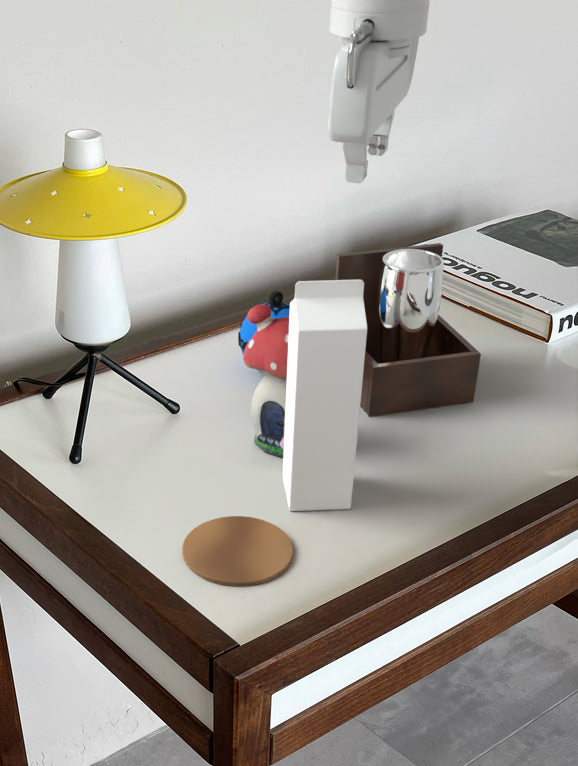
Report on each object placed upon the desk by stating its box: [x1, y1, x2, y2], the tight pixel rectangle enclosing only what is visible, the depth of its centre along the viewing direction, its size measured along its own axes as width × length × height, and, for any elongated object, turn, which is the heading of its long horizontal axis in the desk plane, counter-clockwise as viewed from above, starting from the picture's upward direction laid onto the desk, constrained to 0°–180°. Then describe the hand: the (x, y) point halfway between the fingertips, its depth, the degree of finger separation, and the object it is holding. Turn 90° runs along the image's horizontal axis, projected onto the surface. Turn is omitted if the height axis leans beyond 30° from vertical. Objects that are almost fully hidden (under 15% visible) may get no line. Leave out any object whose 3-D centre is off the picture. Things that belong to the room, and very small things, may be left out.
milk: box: [282, 279, 367, 512], centre depth 93 cm, size 6×6×22 cm
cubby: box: [334, 242, 482, 417], centre depth 114 cm, size 13×13×14 cm
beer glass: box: [376, 249, 445, 364], centre depth 113 cm, size 7×7×15 cm
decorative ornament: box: [242, 303, 289, 459], centre depth 103 cm, size 9×6×15 cm
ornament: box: [237, 290, 290, 355], centre depth 118 cm, size 9×9×10 cm
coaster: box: [181, 515, 294, 587], centre depth 92 cm, size 10×10×1 cm
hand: (366, 166), depth 100 cm, fingers open, 8 cm apart
